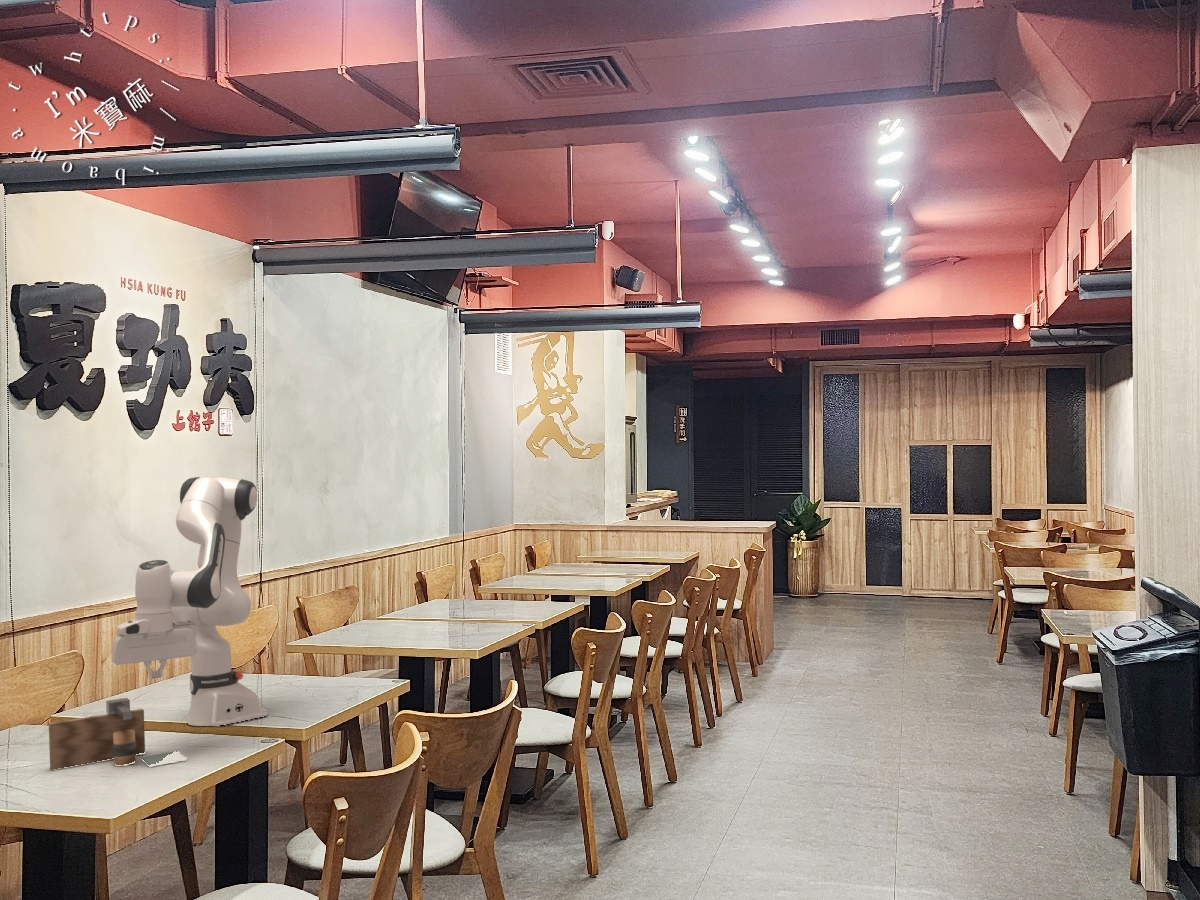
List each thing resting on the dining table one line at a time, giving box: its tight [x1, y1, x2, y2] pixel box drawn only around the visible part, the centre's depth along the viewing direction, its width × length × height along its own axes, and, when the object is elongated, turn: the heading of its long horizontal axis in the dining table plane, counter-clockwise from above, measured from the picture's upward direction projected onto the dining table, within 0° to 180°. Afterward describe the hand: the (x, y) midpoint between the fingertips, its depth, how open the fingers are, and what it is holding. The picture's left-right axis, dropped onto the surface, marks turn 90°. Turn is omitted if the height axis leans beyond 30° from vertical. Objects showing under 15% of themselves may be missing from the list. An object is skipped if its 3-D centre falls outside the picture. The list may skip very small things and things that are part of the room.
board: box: [48, 708, 146, 771], centre depth 271 cm, size 22×2×12 cm, turn 125°
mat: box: [140, 750, 178, 765], centre depth 270 cm, size 9×9×1 cm
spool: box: [113, 730, 137, 765], centre depth 269 cm, size 5×5×8 cm
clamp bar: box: [105, 697, 132, 720], centre depth 270 cm, size 5×14×3 cm, turn 35°
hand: (155, 677), depth 273 cm, fingers closed
